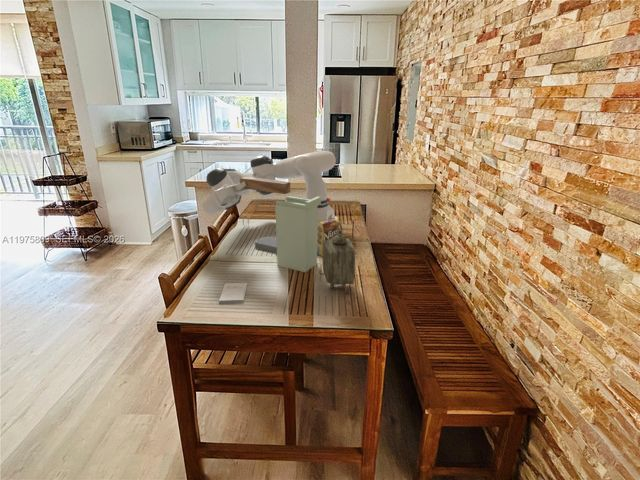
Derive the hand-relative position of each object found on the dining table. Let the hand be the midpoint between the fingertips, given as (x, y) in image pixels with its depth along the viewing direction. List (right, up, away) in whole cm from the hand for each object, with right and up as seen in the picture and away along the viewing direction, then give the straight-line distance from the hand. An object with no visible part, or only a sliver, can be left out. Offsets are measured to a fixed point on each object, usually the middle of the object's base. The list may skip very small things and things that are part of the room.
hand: (250, 182), depth 152 cm
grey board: (+13, -28, +17) cm, 36 cm away
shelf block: (+19, -34, +3) cm, 39 cm away
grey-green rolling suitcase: (+35, -41, -15) cm, 56 cm away
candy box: (+32, -30, +15) cm, 46 cm away
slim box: (+6, -4, -2) cm, 8 cm away
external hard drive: (-2, -44, -20) cm, 48 cm away
